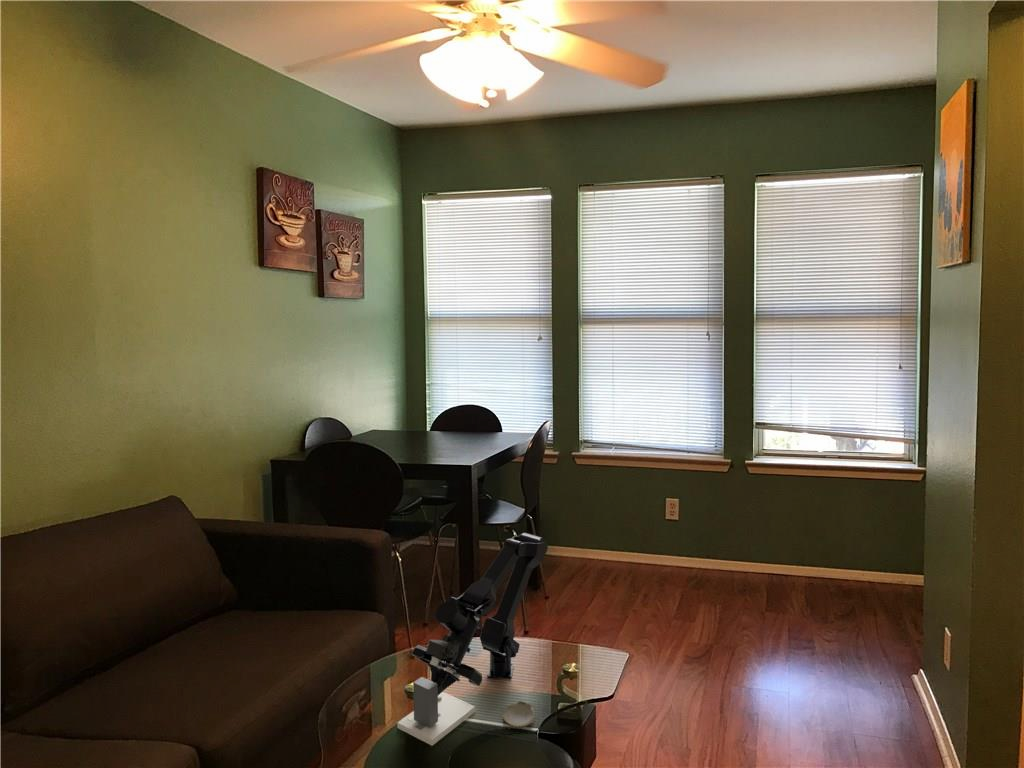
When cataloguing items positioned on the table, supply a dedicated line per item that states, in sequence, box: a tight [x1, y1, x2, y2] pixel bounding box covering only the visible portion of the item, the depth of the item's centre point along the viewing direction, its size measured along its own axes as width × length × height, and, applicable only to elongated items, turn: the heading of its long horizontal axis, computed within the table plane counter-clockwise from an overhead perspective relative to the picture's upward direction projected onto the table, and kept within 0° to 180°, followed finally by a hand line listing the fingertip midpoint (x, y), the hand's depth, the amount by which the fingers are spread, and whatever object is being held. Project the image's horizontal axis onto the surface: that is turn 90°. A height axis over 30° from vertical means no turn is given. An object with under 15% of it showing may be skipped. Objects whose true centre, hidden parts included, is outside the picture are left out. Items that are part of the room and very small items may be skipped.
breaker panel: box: [397, 691, 476, 747], centre depth 197 cm, size 16×11×2 cm
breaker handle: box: [412, 676, 438, 728], centre depth 193 cm, size 3×5×10 cm, turn 54°
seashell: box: [501, 700, 536, 728], centre depth 198 cm, size 8×3×8 cm
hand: (430, 699), depth 194 cm, fingers closed, pressing on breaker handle
